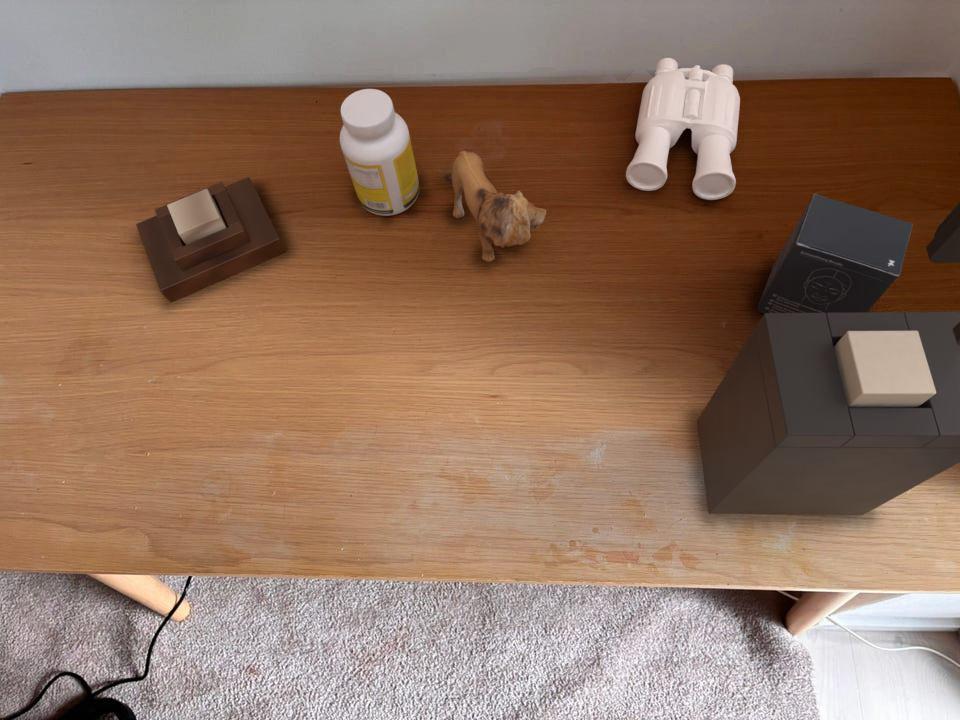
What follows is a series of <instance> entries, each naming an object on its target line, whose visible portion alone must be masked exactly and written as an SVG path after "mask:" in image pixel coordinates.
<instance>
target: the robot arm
mask: <svg viewBox="0 0 960 720" xmlns="http://www.w3.org/2000/svg"><path fill="white" fill-rule="evenodd" d="M958 154H959V156H960V151H959V153H958ZM933 236H934V237H933V238H932V239H931V241H930V242H929V243H928V244H927V245H926V247H925V250H926V253H927V256H928V260H929V261H930V263H933V264H937V263H938V264H945V263H946V264H948V263H949V264H951V263H953V264H954V263H956V264H958V263H960V201H959V202H958V203H957V204H956V205H955V207H953V209H952V210H951V211H950V213H949V214H948V215H946V216H945V219H943V220H942V221H941V223H940V224H939V225H938V226H937V228H936V231H935V233H934V235H933ZM952 331H953V334H954V337H955V340H956V343H957V344H958V345H960V323H958V324H957V325H956V326H955V327H954V328H953V329H952Z"/></svg>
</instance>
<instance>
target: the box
mask: <svg viewBox="0 0 960 720" xmlns="http://www.w3.org/2000/svg"><path fill="white" fill-rule="evenodd" d="M913 225H914V223H913V222H908V221H907V220H906V221H905V220H902V219H899V218H896V217H892V216H889V215H886V214H883V213H879V212H876V211H873V210H870V209H866V208H863V207H860V206H857V205H853V204H849V203H846V202H843V201H840V200H837V199H833V198H830V197H827V196H823V195H820V194H818V193H813V195H812V196H811V198H810V199H809V201H808V203H807V205H806V207H805V208H804V210H803V212H802V214H801V215H800V217H799V219H798V220H797V223H796V225H795V226H794V228H793V230H792V232H791V233H790V235H789V237H788V239H787V240H786V242H785V244H784V246H783V248H782V249H781V251H780V253H779V254H778V256H777V258H776V260H775V261H774V263H773V265H772V268H771V271H770V273H769V276H768V279H767V281H766V283H765V287H764V290H763V291H762V294H761V297H760V300H759V303H758V304H757V308H756V311H757V312H758V313H761V314H763V315H764V314H765V313H845V312H870V311H871V309H873V307H874V306H875V305H876V303H878V301H879V300H880V299H881V298H882V297H883V295H885V293H886V292H887V291H888V290H889V288H890V287H891V286H892V285H893V284H894V282H895V281H896V280H897V279H898V278H899V277H900V275H901V274H902V273H901V272H902V269H903V264H904V260H905V257H906V253H907V248H908V245H909V241H910V237H911V233H912V230H913Z"/></svg>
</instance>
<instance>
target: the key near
mask: <svg viewBox="0 0 960 720" xmlns="http://www.w3.org/2000/svg"><path fill="white" fill-rule="evenodd" d="M834 351H835V356H836V360H837V364H838V368H839V373H840V377H841V381H842V385H843V390H844V394H845V398H846V402H847V407H919V406H920V405H921V404H923V403H924V402H925V401H927V400H928V399H929V398H931V397H932V396H933V395H935V394H936V390H935V386H934V383H933V380H932V376H931V373H930V370H929V366H928V363H927V360H926V356H925V353H924V350H923V346H922V343H921V340H920V336H919V333H918V331H847V332H846V333H845V335H844V336H843V337H842V338H841V339H840V340H839V341H838V342H837V344H836V345H835V346H834Z"/></svg>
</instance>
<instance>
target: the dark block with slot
mask: <svg viewBox="0 0 960 720" xmlns="http://www.w3.org/2000/svg"><path fill="white" fill-rule="evenodd" d="M958 323H960V311H883V312H882V311H868V312H845V313H765V314H763V315H762V316H761V318H760V320H759V321H758V323H757V325H756V326H755V327H754V329H753V330H752V332H751V333H750V336H749V337H748V338H747V340H746V342H745V343H744V345H743V346H742V347H741V349H740V351H739V353H738V354H737V356H736V358H735V359H734V361H733V362H732V363H731V366H730V368H729V369H728V370H727V372H726V373H725V375H724V377H723V378H722V380H721V381H720V383H719V385H718V386H717V388H716V390H715V391H714V393H713V394H712V396H711V397H710V399H709V401H708V402H707V404H706V405H705V407H704V409H703V410H702V412H701V413H700V415H698V418H697V420H696V424H697V432H698V440H699V441H698V442H699V447H700V448H699V449H700V456H701V464H702V473H703V479H704V488H705V494H706V503H707V511H708V513H709V514H710V515H800V516H801V515H805V516H806V515H807V516H808V515H811V516H815V515H817V516H819V515H820V516H826V515H827V516H864V515H866V514H868V513H870V512H871V511H873V510H875V509H877V508H879V507H880V506H882V505H884V504H886V503H888V502H890V501H891V500H893V499H895V498H897V497H899V496H901V495H902V494H905V493H907V492H908V491H909V490H912V489H914V488H915V487H918V486H919V485H921V484H923V483H925V482H926V481H928V480H930V479H933V478H934V477H935V476H938V475H939V474H941V473H943V472H945V471H947V470H948V469H951V468H952V467H954V466H956V465H958V464H959V463H960V345H958V344H957V343H956V340H955V337H954V334H953V331H952V329H953V328H954V327H955V326H956V325H957V324H958ZM847 331H918V333H919V336H920V340H921V343H922V346H923V350H924V353H925V356H926V360H927V363H928V366H929V370H930V373H931V376H932V380H933V383H934V386H935V390H936V394H935V395H933V396H932V397H931V398H929V399H928V400H927V401H925V402H924V403H923V404H921V405H920V406H919V407H847V402H846V398H845V394H844V390H843V385H842V381H841V377H840V373H839V368H838V364H837V360H836V356H835V351H834V346H835V345H836V344H837V342H838V341H839V340H840V339H841V338H842V337H843V336H844V335H845V333H846V332H847Z"/></svg>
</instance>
